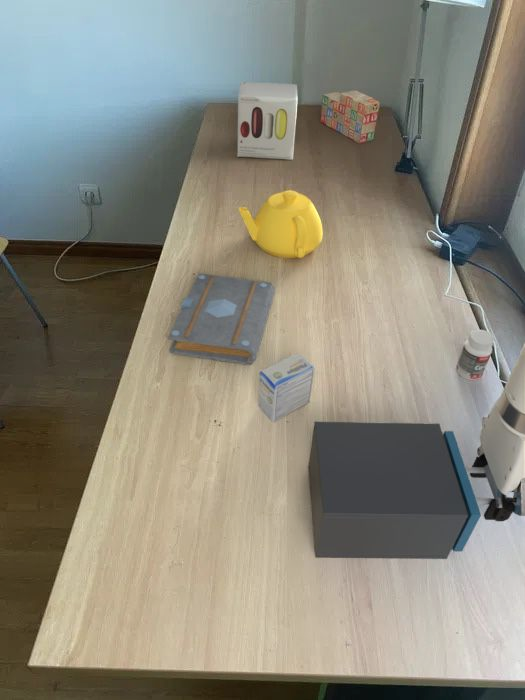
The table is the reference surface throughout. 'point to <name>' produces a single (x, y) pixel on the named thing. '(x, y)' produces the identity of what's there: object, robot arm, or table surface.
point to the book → (222, 319)
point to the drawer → (467, 489)
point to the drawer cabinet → (383, 491)
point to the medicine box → (285, 386)
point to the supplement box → (266, 120)
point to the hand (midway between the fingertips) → (487, 495)
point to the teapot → (285, 225)
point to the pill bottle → (475, 355)
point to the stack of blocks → (351, 114)
